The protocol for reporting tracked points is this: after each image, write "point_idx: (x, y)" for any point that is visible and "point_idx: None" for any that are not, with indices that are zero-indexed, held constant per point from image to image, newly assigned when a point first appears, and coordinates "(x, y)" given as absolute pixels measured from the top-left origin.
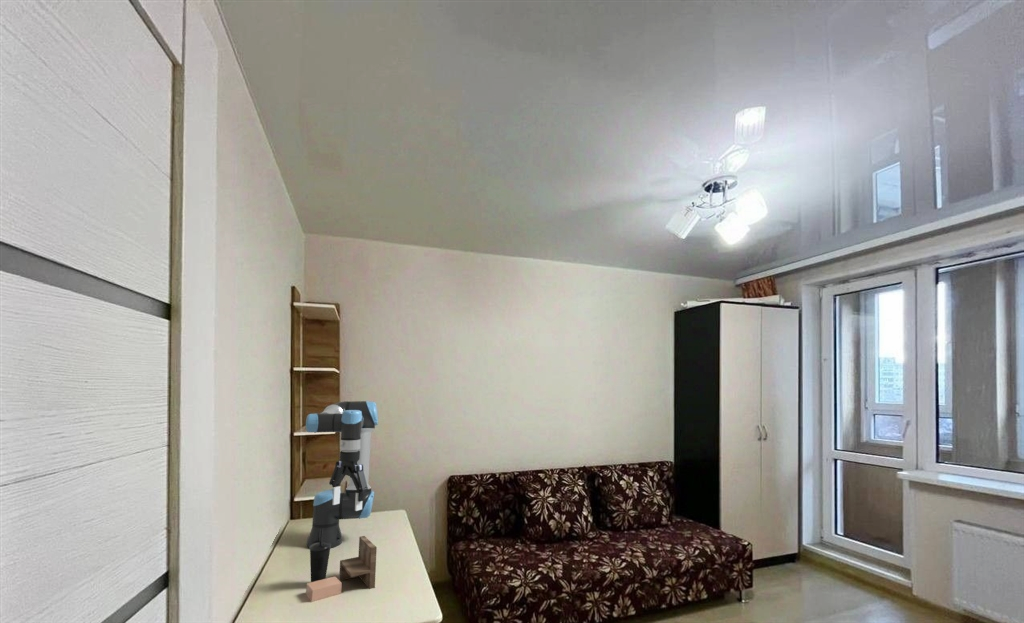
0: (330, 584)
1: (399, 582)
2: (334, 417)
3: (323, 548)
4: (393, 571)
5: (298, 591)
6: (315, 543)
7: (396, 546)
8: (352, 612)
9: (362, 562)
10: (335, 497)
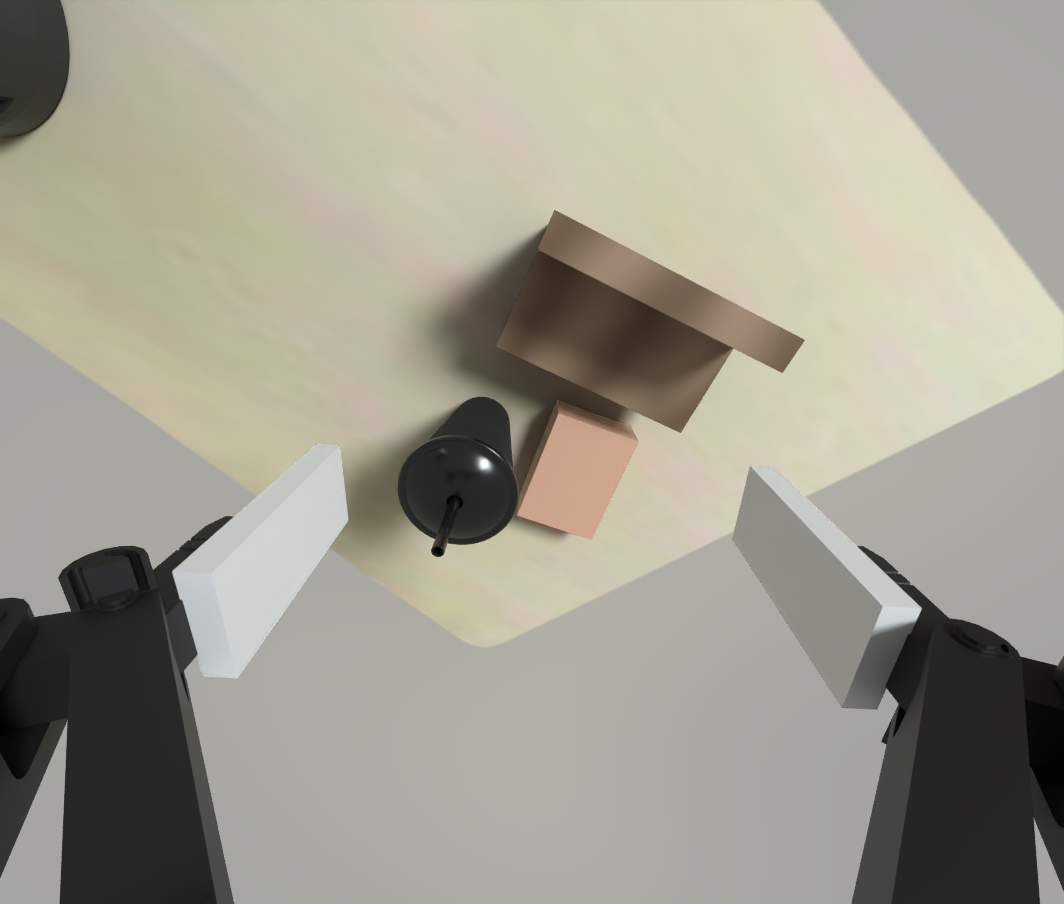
0: (608, 475)
1: (796, 196)
2: None
3: (510, 510)
4: (680, 98)
5: None
6: (429, 513)
7: None
8: None
9: (624, 298)
10: (311, 550)
